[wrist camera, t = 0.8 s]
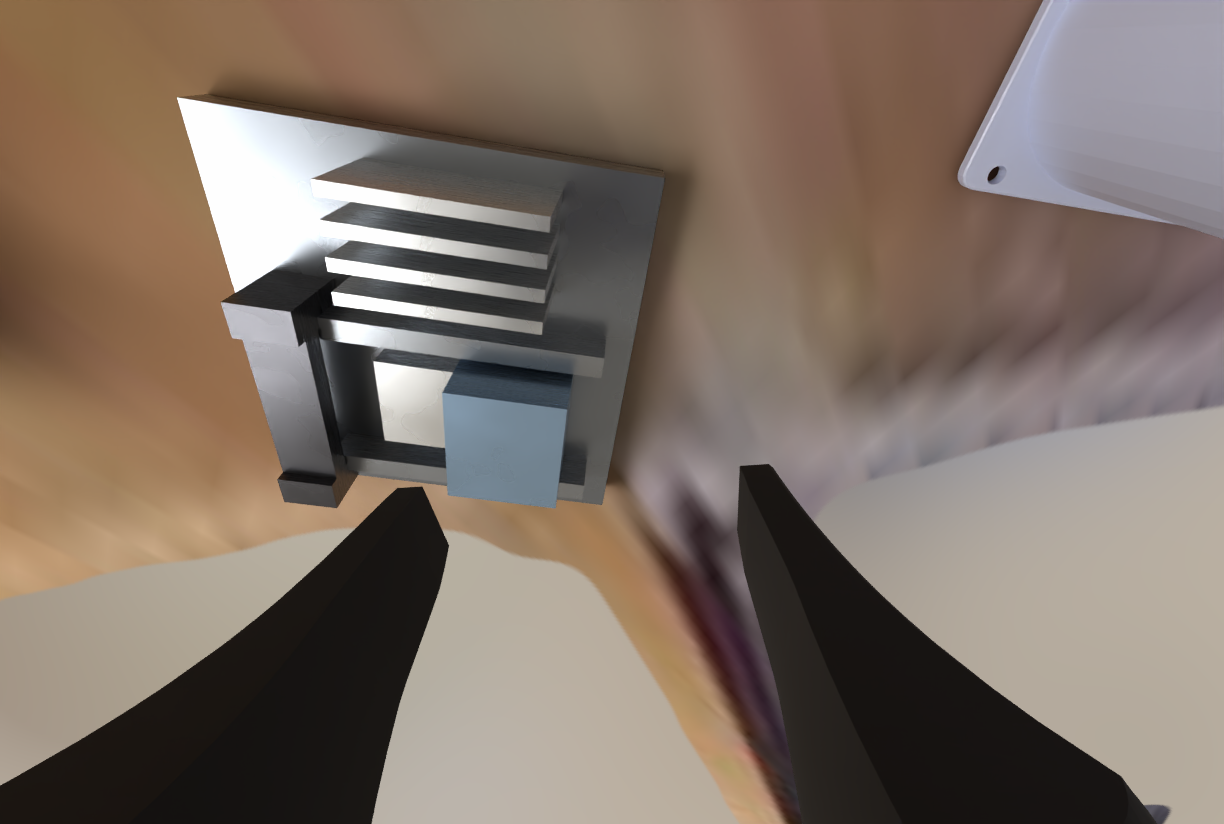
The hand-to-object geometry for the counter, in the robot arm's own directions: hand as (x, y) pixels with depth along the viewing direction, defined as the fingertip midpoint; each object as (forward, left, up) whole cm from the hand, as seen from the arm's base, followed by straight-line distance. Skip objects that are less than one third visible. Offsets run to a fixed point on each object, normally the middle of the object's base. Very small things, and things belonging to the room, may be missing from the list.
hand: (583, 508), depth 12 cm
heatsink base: (+6, +1, -10) cm, 11 cm away
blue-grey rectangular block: (+4, +3, -8) cm, 10 cm away
